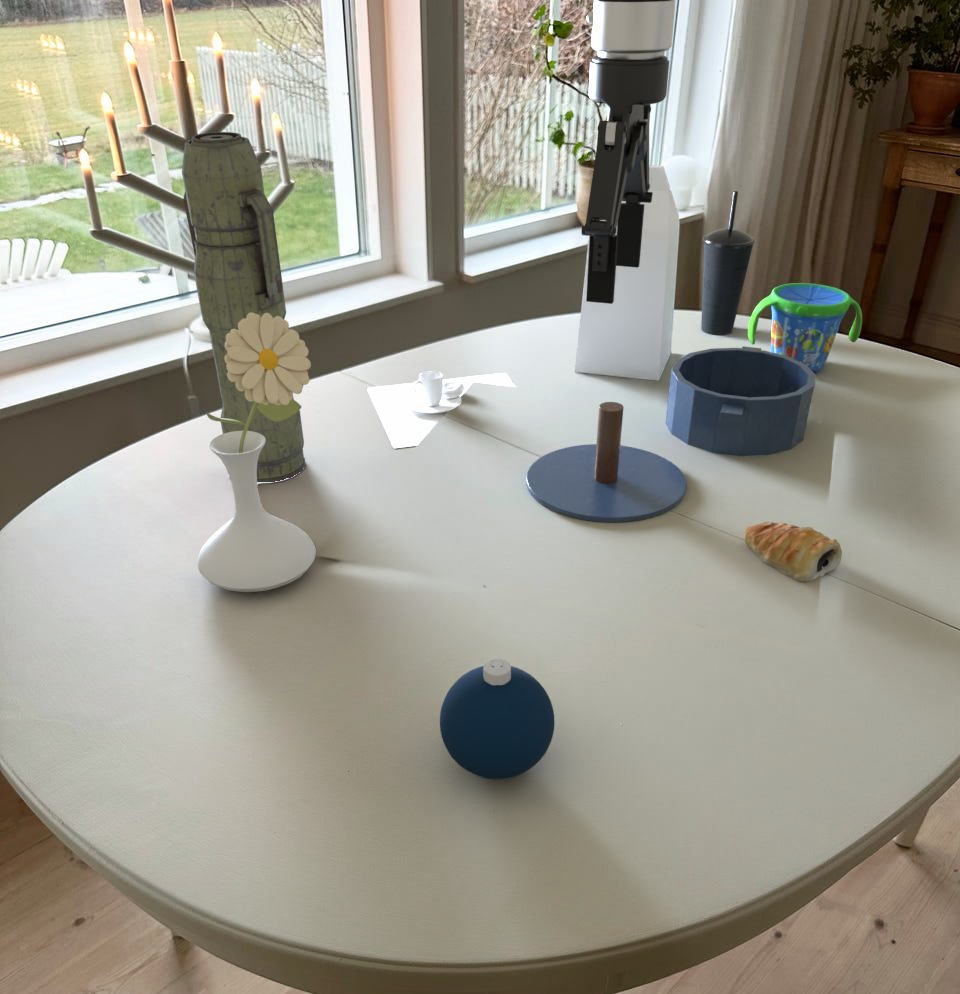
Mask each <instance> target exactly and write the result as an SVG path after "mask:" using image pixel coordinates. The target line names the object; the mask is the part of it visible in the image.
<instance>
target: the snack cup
mask: <svg viewBox="0 0 960 994" xmlns="http://www.w3.org/2000/svg"><path fill="white" fill-rule="evenodd" d="M850 306H852V307H853V308H854V309H855V318H854V320H853V321H852V326H851V328H850V330H849V332H848V340H849V341H850V343H856V342H857V341H858V339H859V337H860V334H861V331H862V326H863V313H862V308H861V306H860V304H859V303H858V302H857V301H856V300H855V299H853V298H852V297H851V296H850V294H849V293H848V292H846V291H844V290H842V289H840V288H837V287H834V286H830V285H825V284H818V283H809V282H806V283H805V282H796V283H794V282H793V283H792V282H791V283H784V284H781V285H778V286H776V287H774V288H773V289H772V291H771V293H770V295H768V296H766V297H765V298H762V299H761V300H760V302H759V303H758V304H757V305H756V306H755V307H754V310H753V311H752V314H751V315H750V319H749V321H748V326H747V337H748V341H749V343H750V344H751V345H755V344H756V333H757V329H758V324H759V319H760V315H761V313H762V312H764V310H766V309H767V308H768V307H770V309H771V315H772V316H771V332H770V337H771V339H770V352H772V353H776V354H780V355H785V356H788V357H791V358H793V359H795V360H797V361H799V362H801V363H803V364H805V365H807V366H808V367H809V368H810V369H811V370H812V371H813V372H816V373H817V372H820V370H821V369H822V368H823V367H825V364H826V363H827V361H828V358H829V355H830V353H831V350H832V348H833V346H834V345H833V344H834V342H835V340H836V336H837V333H838V331H839V328H840V325H841V323H842V321H843V318H844V317H845V315H846V313H847V311H849V308H850Z"/></svg>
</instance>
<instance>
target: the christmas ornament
mask: <svg viewBox="0 0 960 994" xmlns="http://www.w3.org/2000/svg"><path fill="white" fill-rule="evenodd" d="M555 722H556V721H555V712H554V706H553V704H552V701H551V698H550V697H549V694H548V693H547V691H546V689H545V688H544V687H543V685H542V684H541V683H540V682H539V681H538V680H537V679H536V678H535V677H534V676H533V675H531V674H530V673H529V672H527V671H525V670H523V669H521V668H518V667H516V666H513V665H511V663H510V662H509V661H507V660H506V659H503V658H491V659H489V660H487V661H486V662H484V664H483V665H482V666H478V667H476V668H473V669H471V670H469V671H467V672H465V673H464V674H463V675H461V676H460V677H459V678H458V679H456V681H455V682H454V683H453V684H452V686H450V688H449V690H448V691H447V693H446V695H445V697H444V699H443V701H442V704H441V709H440V713H439V729H440V736H441V739H442V742H443V745H444V747H445V749H446V750H447V753H448V754H449V755H450V757H451V758H452V760H454V761H455V763H457V765H458V766H460V767H461V768H462V769H464V770H465V771H467V772H469V774H472V775H475V776H477V777H480V778H484V779H488V780H506V779H512V778H515V777H518V776H520V775H522V774H524V773H526V772H528V771H529V770H531V769H533V767H534V766H536V765H537V764H538V763H539V762H540V761H541V760H542V758H543V757H544V756H545V754H546V753H547V751H548V749H549V747H550V745H551V743H552V740H553V737H554V732H555Z"/></svg>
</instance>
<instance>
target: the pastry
mask: <svg viewBox="0 0 960 994" xmlns="http://www.w3.org/2000/svg"><path fill="white" fill-rule="evenodd" d="M744 543H745V545H746V546H747V548H748V549H749V550H751V551H752V552H753V553H754V554H755V556H757V557H758V558H759V560H760V561H761V562H762V563H763V564H766V565H768V566H770V567H772V568H774V569H776V570H777V571H779V572H780V573H782V574H784V575H786V576H787V577H790V578H793V579H794V580H795V581H798V582H800V583H807V582H810V581H811V580H816V579H817V578H818V577H820V578H822V577H823V576H824V575H825V574H826V573H828V572H831V571H833V570H835V569H837V568H838V567H839V566H840V563H841V561H842V555H843V551H842V547H841V544H840V543H839V542H838V540H837V539H836V538H832V539H831V538H830V537H828V536H826V535H824V534H823V533H821V531H817V530H815V529H814V528H813V527H810V526H801V527H799V526H797V525H794V524H788V523H785V522H779V523H778V522H770V521H763V522H762V523H758V524H755V525H752V526H747V527H746V528H745V530H744Z"/></svg>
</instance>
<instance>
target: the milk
mask: <svg viewBox="0 0 960 994" xmlns="http://www.w3.org/2000/svg"><path fill="white" fill-rule="evenodd" d="M669 182H670V181H669V180H668V176H667V172H666V169H665V167H664V165H653V164H649V184H650V189H649V190H648V192H653V195H652V201H651V203H644V202H640V204H644V216H643V228H642V240H641V252H640V263H639V267H638V268H637V267H625V266H616V274H615V288H614V302H613V303H612V304H608V303H597V302H586V297H587V278H588V260H589V241H590V236H588V240H587V247H586V249H587V250H586V259H585V267H584V268H585V269H584V279H583V286H582V290H583V291H582V296H581V307H580V314H579V315H580V317H579V318H580V319H579V327H578V336H577V345H576V346H577V347H576V355H575V365H574V373H582V374H590V375H591V374H592V375H600V376H610V377H611V376H612V377H621V378H629V379H638V380H648V381H658V382H659V381H660V379H661V376H662V375H663V372H664V371H665V368H666V365H667V363H668V361H669V358H670V356H671V354H672V344H673V331H674V314H675V299H676V286H677V285H676V284H677V272H678V257H679V256H678V254H679V242H680V227H681V226H680V214H679V211H678V208H677V205H676V201H675V198H674V196H673V192H672V190H671V186H670V183H669ZM622 203H626V201H622ZM600 221H606V220H600ZM616 229H617V228H616ZM615 235H617V231H616V234H615Z"/></svg>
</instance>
